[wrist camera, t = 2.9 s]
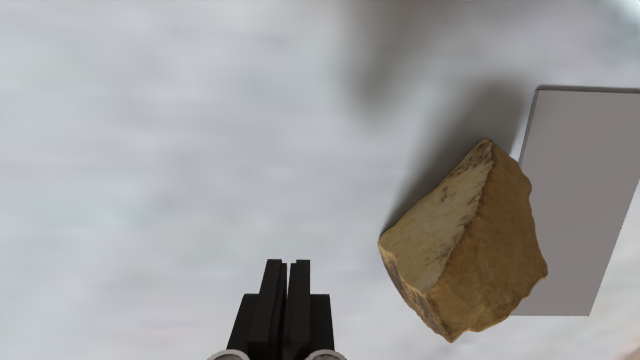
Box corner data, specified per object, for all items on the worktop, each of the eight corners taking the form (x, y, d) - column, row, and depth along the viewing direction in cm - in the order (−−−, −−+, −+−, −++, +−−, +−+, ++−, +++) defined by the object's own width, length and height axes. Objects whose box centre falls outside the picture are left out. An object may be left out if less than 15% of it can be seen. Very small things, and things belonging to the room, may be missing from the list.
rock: (516, 83, 15) (342, 168, 15) (707, 213, 10) (451, 347, 10) (476, 191, 24) (365, 246, 24) (568, 290, 19) (429, 363, 19)
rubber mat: (664, 94, 18) (670, 95, 18) (585, 313, 23) (588, 315, 22) (535, 90, 18) (539, 90, 17) (482, 312, 22) (485, 315, 22)
